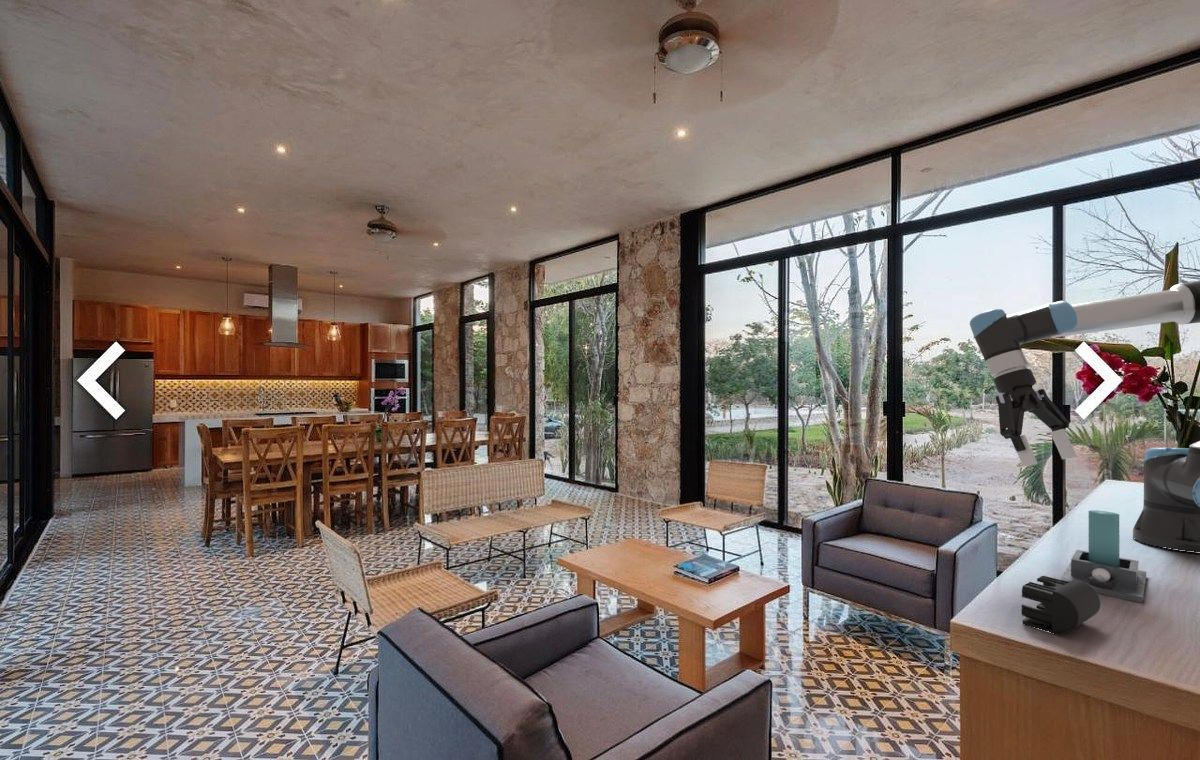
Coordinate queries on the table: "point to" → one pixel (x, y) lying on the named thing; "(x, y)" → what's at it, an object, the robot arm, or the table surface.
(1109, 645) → the table surface
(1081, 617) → the end cap
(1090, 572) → the stand
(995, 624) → the table surface
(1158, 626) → the table surface
